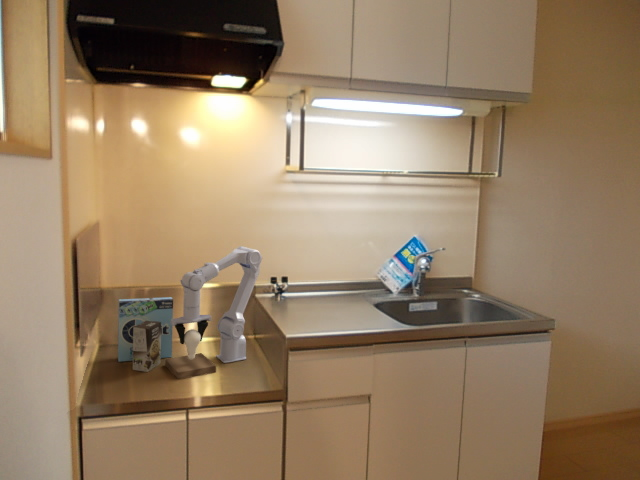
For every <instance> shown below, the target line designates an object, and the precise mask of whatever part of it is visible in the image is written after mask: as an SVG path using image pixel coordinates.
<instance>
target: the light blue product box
mask: <svg viewBox="0 0 640 480" xmlns="http://www.w3.org/2000/svg"><path fill="white" fill-rule="evenodd" d="M171 319H174V299H173V297H171V296H169V297H167V296H166V297H143V298H125V299H124V298H122V299H121V298H120V299H118V327H117V328H118V331H117V332H118V333H117V335H118V336H117V337H118V339H117V340H118V341H117V342H118V343H117V360H118V363H120V362H121V363H122V362H130V361H131V362H133V327H135V326H137V325H139V324H141V323H143V322H144V321H156V322H161V359H169V358H173V327H174V326H172V325H171Z"/></svg>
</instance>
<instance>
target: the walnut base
mask: <svg viewBox="0 0 640 480" xmlns="http://www.w3.org/2000/svg"><path fill="white" fill-rule="evenodd" d="M164 366H165V367H166V368H167V370H169V372H170V373H171V374H172V375H173V376H174V377H175V378H176V379H177V380H183V379H188V378H192V377H198V376H203V375H208V374H209V375H210V374H214V373H217V365H216V364H215V363H214V362H213V361H212V360H210V359H209V358H208V357H207V356H206V355H205V354H203V353H201V352H200V353H195V358H194V359H193V360H190V359H189V358H188V354H187V355H181V356H177V357H171V358H164Z"/></svg>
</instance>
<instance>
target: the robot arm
mask: <svg viewBox="0 0 640 480" xmlns="http://www.w3.org/2000/svg"><path fill="white" fill-rule="evenodd" d="M262 260H263V256H262V254H261V252H260V251H259V250H258V249H255V248H254V249H253V248H249V247H246V246H243V245H242V246H238V247H237V248H233V249H232V251H231V252H230V253H229V254H227V255H225V256H224V257H222V258H221V259H219V260H217V261H216V262H207V261H206V262H205V263H204V265H202V266H201V267H199V268H195V269H193V271H188V272H186V273H184V275H182V278H181V279H180V285H181V286H182V287H183V313H182V316H180V317H176V318H173V319H171V325H172V326H173V327H175V329H176V331H177V334H178V338H179V343H180V344H181V345H185V343H184V334H185V333H186V327H185V325H186V324H193V323H196V325H197V331H198V332H199V333H200V335H201V340H200V342H202V341H203V337H204V334H205V331H206V330H207V328H208V326H209V322H212V315H211V314H201V289H202V288H203V287H204V285H205V284H206V283H207V282H209V281H211V280H212V279H214V278H216V277H218V275H219V272H220V271H222V270H225V269H226V268H229V267H231V266H233V265H234V264H238V265H240V267H241V268H242V270H243V275H242V278H241V280H240V283H239V285H238V287H237V290H236V292H235V295H234V298H233V301H232V303H231V305H230V307H229V310H227V311H226V312H224V313H223V315H222V316H221V318H220V319H219V320H218V323H217V325H216V327H217V331H218V332H219V333H220V350H219V351H220V352H219V353H220V354H216V355H215V357H216V358H217V359H218V360H220V361H221V362H222V363H223V364H227V363H232V362H239V361H242V360H243V361H244V360H246V359H247V355H246V354H247V341H246V337H245V335H244V331H245V323H246V320H245V318H244V313H245V310H246V307H247V305H248V303H249V299H250V298H251V295H252V293H253V290H254V287H255V284H256V282H257V279H258V277H259V275H260V267H261V263H262ZM184 324H185V325H184Z"/></svg>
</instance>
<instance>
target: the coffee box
mask: <svg viewBox="0 0 640 480" xmlns="http://www.w3.org/2000/svg"><path fill="white" fill-rule="evenodd" d="M161 359H162V358H161V322H156V321H144V322H143V323H141V324H139V325H137V326H135V327H133V361H132V370H133V371H138V372H144V373H149V372H150V371H152V370H153V369H154V368H156V367H158V366H159V365H160V364H161V363H162V362H161Z"/></svg>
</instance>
